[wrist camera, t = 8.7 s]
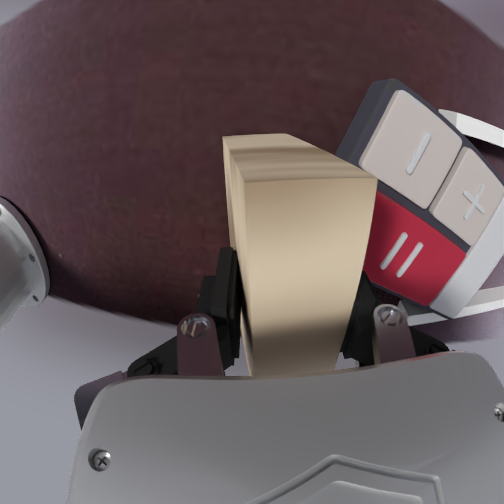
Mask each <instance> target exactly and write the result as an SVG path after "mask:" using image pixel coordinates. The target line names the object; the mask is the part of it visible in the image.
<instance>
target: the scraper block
mask: <svg viewBox="0 0 504 504" xmlns="http://www.w3.org/2000/svg"><path fill="white" fill-rule="evenodd" d="M223 150H224V165H225V180H226V194H227V207H228V220H229V233H230V245H231V247H233V250H237V257H238V271H239V283H240V296H241V325H240V328H241V333H242V339H243V345H244V349H245V355H246V361H247V366H248V371H249V376H270V375H289V374H303V373H315V372H325V371H333V370H334V367H335V365H336V362H337V359H338V356H339V353H340V349H341V346H342V343H343V340H344V336H345V333H346V329H347V326H348V322H349V319H350V315H351V311H352V308H353V304H354V301H355V297H356V293H357V289H358V285H359V281H360V277H361V273H362V268H363V264H364V259H365V254H366V249H367V244H368V239H369V233H370V228H371V222H372V216H373V210H374V203H375V196H376V189H377V181H378V178H376V177H374V176H373V175H371V174H369V173H367V172H365V171H364V170H362V169H360V168H358V167H356V166H354V165H352V164H350V163H348V162H346V161H344V160H342V159H340V158H338V157H336V156H334V155H332V154H330V153H328V152H326V151H324V150H322V149H320V148H318V147H316V146H313V145H311V144H309V143H307V142H304V141H302V140H300V139H298V138H295V137H293V136H291V135H288V134H257V135H238V136H225V137H223Z"/></svg>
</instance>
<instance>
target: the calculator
mask: <svg viewBox="0 0 504 504" xmlns="http://www.w3.org/2000/svg"><path fill="white" fill-rule="evenodd" d="M334 156H336V157H338V158H340V159H342V160H344V161H346V162H348V163H350V164H352V165H354V166H356V167H358V168H360V169H362V170H364V171H365V172H367V173H369V174H371V175H373V176H374V177H376V178H378V181H377V189H376V196H375V203H374V210H373V216H372V222H371V228H370V233H369V239H368V244H367V249H366V254H365V259H364V264H363V268H362V270H364V271H365V272H366V274H367V276H368V278H369V280H370V281H371V283H372V285H373V286H375V287H377V288H379V289H382V290H384V291H386V292H388V293H391V294H393V295H395V296H397V297H400V298H402V299H404V300H406V301H408V302H411V303H413V304H415V305H417V306H419V307H422V308H424V309H426V310H428V311H430V312H433V313H435V314H437V315H439V316H441V317H443V318H445V319H448V320H451V319H453V318H455V317H456V316H457V315H458V314H459V313H460V311H461V310H462V309H463V308H464V307H465V306H466V304H467V303H468V302H469V301H470V299H471V298H472V297H473V296H474V294H475V293H476V292H477V291H478V289H479V288H480V287H481V285H482V284H483V283H484V281H485V280H486V279H487V277H488V276H489V275H490V273H491V272H492V270H493V269H494V268H495V266H496V265H497V263H498V262H499V260H500V259H501V257H502V256H503V254H504V181H503V179H502V178H501V177H500V175H499V174H498V173H497V172H496V170H495V169H494V168H493V167H492V166H491V164H490V163H489V162H488V161H487V160H486V159H485V157H484V156H483V155H482V154H481V153H480V152H479V151H478V150H477V149H476V147H475V146H474V145H473V144H472V143H471V142H470V141H469V140H468V139H467V138H466V137H465V136H464V135H463V134H462V133H461V132H460V131H459V130H458V129H457V128H456V127H455V126H454V125H453V124H452V123H451V122H450V121H449V120H447V119H446V118H445V117H444V116H443V115H442V114H441V113H440V112H439V111H437V110H436V109H435V108H434V107H433V106H432V105H430V104H429V103H428V102H427V101H425V100H424V99H423V98H422V97H420V96H419V95H418V94H417V93H415V92H414V91H413V90H411V89H410V88H409V87H407V86H406V85H405V84H403V83H402V82H400V81H399V80H397V79H386V80H380V81H375V82H373V83H372V84H371V85H370V87H369V89H368V91H367V93H366V95H365V97H364V99H363V101H362V103H361V105H360V107H359V109H358V111H357V113H356V115H355V117H354V119H353V121H352V123H351V125H350V127H349V129H348V131H347V132H346V134H345V136H344V138H343V140H342V142H341V144H340V146H339V148H338V150H337V152H336V153H335V155H334Z"/></svg>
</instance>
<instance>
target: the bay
mask: <svg viewBox="0 0 504 504" xmlns="http://www.w3.org/2000/svg"><path fill="white" fill-rule="evenodd" d="M439 112H440V113H441V114H442V115H443V116H444V117H445V118H446V119H447V120H449V121H450V122H451V123H452V124H453V125H454V126H455V127H456V128H457V129H458V130H459V131H460V132H461V133H462V134H465V135H468V136H472V137H475V138H478V139H481V140H484V141H487V142H490V143H493V144H496V145H498V146H501V147H504V130H502V129H499V128H497V127H495V126H492V125H490V124H487V123H485V122H482V121H480V120H477V119H474V118H471V117H468V116H466V115H463V114H460V113H456V112H452V111H447V110H442V109H439ZM502 307H504V286H500V287H494V288H488V289H482V290H478V291H477V292H476V293H475V294H474V296H473V297H472V298H471V299H470V301H469V302H468V303H467V304H466V306H465V307H464V308H463V309H462V310H461V311H460V313H459V314H458V315H457V316H456V317H455V318H458V317H463V316H468V315H473V314H477V313H481V312H486V311H490V310H494V309H498V308H502ZM398 308H400V309H401V310H402V311H403V312H404V313H405V315H406V318H407V322H408V325H409V326H412V325H419V324H425V323H431V322H437V321H442V320H448V319H445V318H443V317H441V316H439V315H437V314H435V313H433V312H430V311H428V310H426V309H424V308H422V307H419V306H417V305H415V304H413V303H411V302H408V301H406V300H404V299H403V300H400V301H399V304H398Z"/></svg>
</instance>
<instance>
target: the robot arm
mask: <svg viewBox="0 0 504 504" xmlns="http://www.w3.org/2000/svg"><path fill="white" fill-rule="evenodd" d="M49 287H50V279H49V271H48V267H47V263H46V260H45V257H44V254H43V251H42V249H41V247H40V245H39V243H38V240H37V238H36V236H35V235H34V233H33V231H32V230H31V228H30V226H29V225H28V223H27V222H26V220H25V219H24V218H23V216H22V215H21V214H20V213H19V212H18V210H17V209H16V208H15V207H14V206H13V205H11V204H10V203H9V202H8V201H6V200H5V199H3V198H1V197H0V334H1V332H2V331H3V330H4V328H5V327H6V325H7V324H8V322H9V321H10V320H11V318H12V317H13V315H14V314H15V313H16V311H17V310H18V309H19V308H20V306H21V305H22V306H25V307H36V306H39V305H40V304H41V303H42V302H43V301H44V299H45V298H46V297H47V295H48V292H49ZM240 325H241V296H240V283H239V271H238V257H237V250H233V247H223V248H221V249H220V254H219V260H218V265H217V270H216V276H204V278H203V282H202V286H201V291H200V295H199V299H198V304H197V308H196V312H195V314H191V315H188V316H186V317H184V318H183V319H182V320H181V321H180V322H179V324H178V327H177V336H175V337H173V338H172V339H170V340H169V341H167V342H165V343H164V344H162V345H160V346H159V347H157V348H155V349H154V350H152V351H150V352H149V353H147V354H145V355H144V356H142V357H140V358H139V359H137V360H135V361H134V362H133V363H132V364H131V365H130V366H129V368H128V371H126V372H124V373H122V372H121V371H119V372H116V373H113V374H111V375H108V376H106V377H103V378H100V379H98V380H95V381H92V382H89V383H87V384H84V385H82V386H80V387H79V388H78V389H77V390H76V392H75V395H74V402H75V407H76V411H77V416H78V420H79V424H80V428H81V435H80V438H79V441H78V445H77V449H76V453H75V457H74V461H73V466H72V470H71V475H70V480H69V486H68V493H67V501H66V504H504V388H503V385H502V383H501V381H500V380H499V378H498V376H497V374H496V373H495V371H494V369H493V368H492V366H491V365H490V364H489V362H488V361H487V360H486V359H485V358H484V357H482V356H481V355H478V354H476V353H472V352H466V351H455V350H452V351H449V349H448V347H447V346H446V345H445V344H444V343H442V342H441V341H439V340H437V339H435V338H433V337H431V336H429V335H427V334H424V333H422V332H420V331H418V330H416V329H414V328H412V327H410V326H409V325H408V322H407V318H406V315H405V313H404V312H403V311H402V310H401V309H400V308H398V307H397V306H394V305H391V304H382V303H381V301H380V299H379V297H378V295H377V293H376V291H375V289H374V287H373V285H372V283H371V281H370V280H369V278H368V276H367V274H366V272H365V271H364V270H362V273H361V277H360V281H359V285H358V289H357V293H356V297H355V301H354V304H353V308H352V311H351V315H350V319H349V322H348V326H347V329H346V333H345V336H344V340H343V343H342V346H341V349H340V352H343V356H344V359H347V358H353V359H355V360H356V368H350V369H342V370H334V371H325V372H315V373H303V374H289V375H270V376H225V371H224V370H226V369H227V368H228V367H230V366H231V365H234V358H239V348H240Z"/></svg>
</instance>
